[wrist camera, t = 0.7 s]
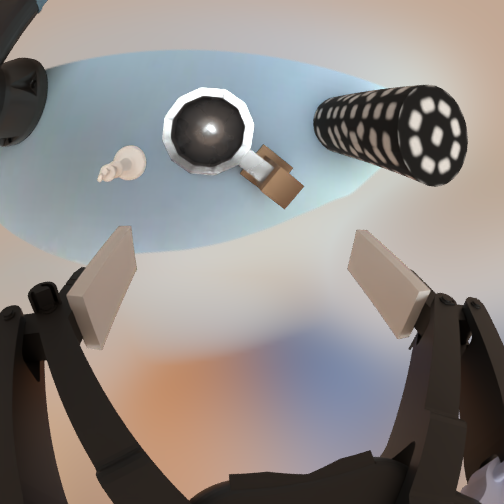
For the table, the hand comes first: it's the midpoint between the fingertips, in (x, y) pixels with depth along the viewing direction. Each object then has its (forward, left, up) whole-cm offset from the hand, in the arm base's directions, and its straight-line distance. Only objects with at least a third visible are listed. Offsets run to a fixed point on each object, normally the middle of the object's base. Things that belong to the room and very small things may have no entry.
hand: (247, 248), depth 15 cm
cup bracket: (-4, +3, -16) cm, 17 cm away
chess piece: (-13, -7, -23) cm, 28 cm away
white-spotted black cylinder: (+7, +15, -23) cm, 29 cm away
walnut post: (+3, +3, -23) cm, 23 cm away
